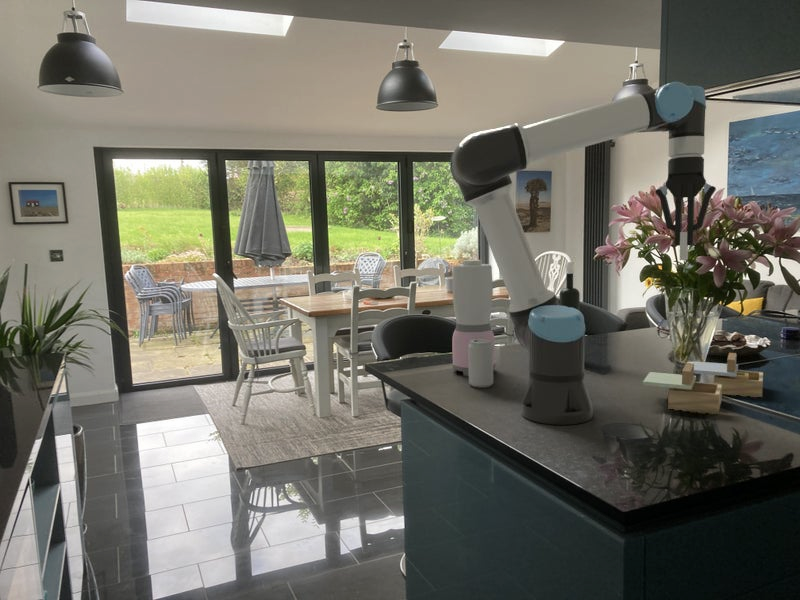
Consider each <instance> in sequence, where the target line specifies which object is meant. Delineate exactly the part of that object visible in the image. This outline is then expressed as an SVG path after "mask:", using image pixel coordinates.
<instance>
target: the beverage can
mask: <svg viewBox="0 0 800 600" xmlns="http://www.w3.org/2000/svg"><path fill="white" fill-rule="evenodd" d="M468 357H469V376H468V384H470V385H471V386H472V387H474V388H480V389H483V388H484V389H485V388H491V386H492V385H493V384H494V369H493V345H492V343H491V340H488V339H473V340H470V344H469V345H468Z"/></svg>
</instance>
